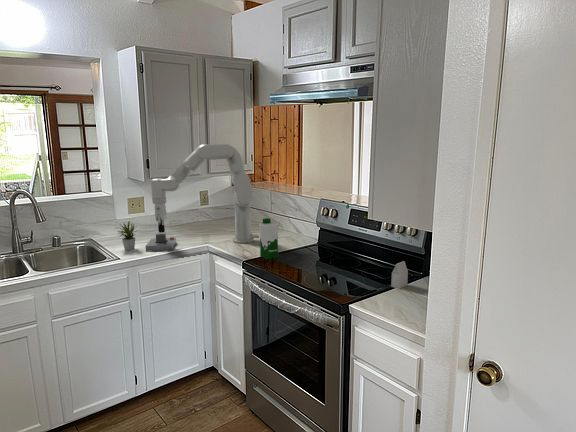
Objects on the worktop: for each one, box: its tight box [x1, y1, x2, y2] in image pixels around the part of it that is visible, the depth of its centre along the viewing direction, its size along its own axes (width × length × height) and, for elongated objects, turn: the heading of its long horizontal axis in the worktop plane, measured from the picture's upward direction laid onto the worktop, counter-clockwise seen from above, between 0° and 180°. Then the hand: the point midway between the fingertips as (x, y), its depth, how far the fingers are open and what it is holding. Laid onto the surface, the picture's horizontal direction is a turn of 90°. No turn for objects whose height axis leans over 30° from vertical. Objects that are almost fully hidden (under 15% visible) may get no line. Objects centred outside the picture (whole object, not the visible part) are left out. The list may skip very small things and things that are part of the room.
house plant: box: [115, 220, 137, 251], centre depth 242 cm, size 14×14×16 cm
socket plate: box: [145, 236, 177, 252], centre depth 247 cm, size 14×18×4 cm
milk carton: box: [258, 217, 280, 260], centre depth 223 cm, size 9×9×20 cm
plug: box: [155, 232, 167, 243], centre depth 246 cm, size 5×4×8 cm
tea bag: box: [390, 260, 409, 289], centre depth 180 cm, size 4×7×10 cm, turn 136°
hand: (161, 232), depth 246 cm, fingers closed
